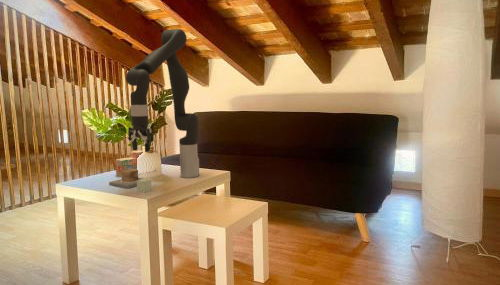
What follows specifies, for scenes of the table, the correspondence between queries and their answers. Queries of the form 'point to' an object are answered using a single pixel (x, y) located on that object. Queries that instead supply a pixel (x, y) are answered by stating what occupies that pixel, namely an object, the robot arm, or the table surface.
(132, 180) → the walnut block
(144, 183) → the sage block
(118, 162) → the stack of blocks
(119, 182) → the base plate
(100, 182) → the table surface
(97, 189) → the table surface
